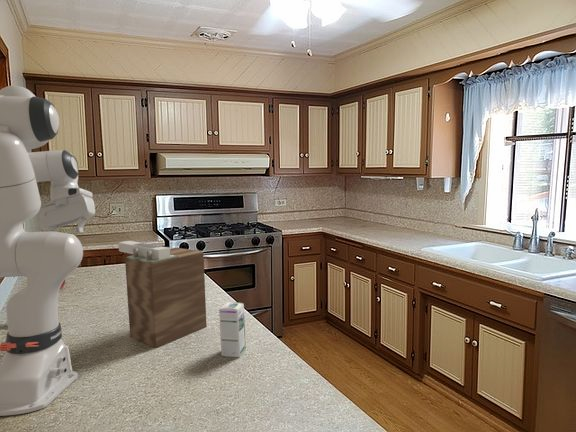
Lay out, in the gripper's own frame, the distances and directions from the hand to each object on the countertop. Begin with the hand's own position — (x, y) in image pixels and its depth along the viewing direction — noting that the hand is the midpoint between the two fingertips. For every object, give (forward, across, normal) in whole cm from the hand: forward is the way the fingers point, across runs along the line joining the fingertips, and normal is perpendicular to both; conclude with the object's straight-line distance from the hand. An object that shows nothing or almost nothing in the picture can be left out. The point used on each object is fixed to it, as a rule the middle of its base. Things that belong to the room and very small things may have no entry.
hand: (67, 236), depth 139 cm
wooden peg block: (+37, +23, +16) cm, 46 cm away
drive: (+12, +24, +5) cm, 28 cm away
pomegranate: (+5, -48, +42) cm, 64 cm away
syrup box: (+48, +48, +8) cm, 68 cm away
